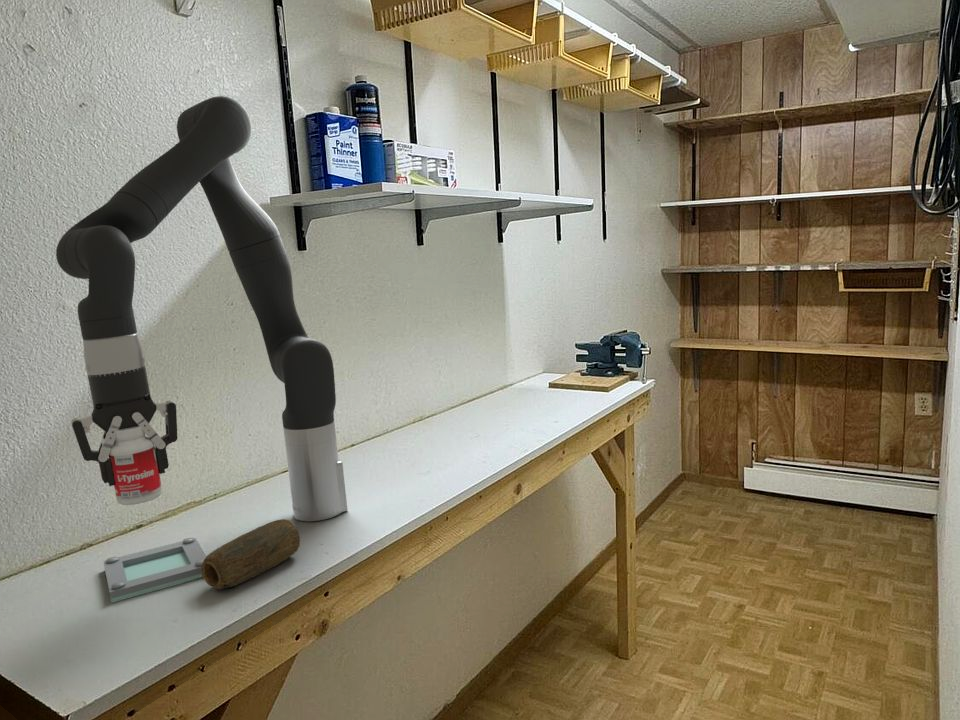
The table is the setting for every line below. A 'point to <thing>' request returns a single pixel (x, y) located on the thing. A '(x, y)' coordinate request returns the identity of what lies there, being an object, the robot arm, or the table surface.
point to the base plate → (153, 569)
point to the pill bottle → (134, 467)
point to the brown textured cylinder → (250, 554)
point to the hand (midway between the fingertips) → (136, 478)
